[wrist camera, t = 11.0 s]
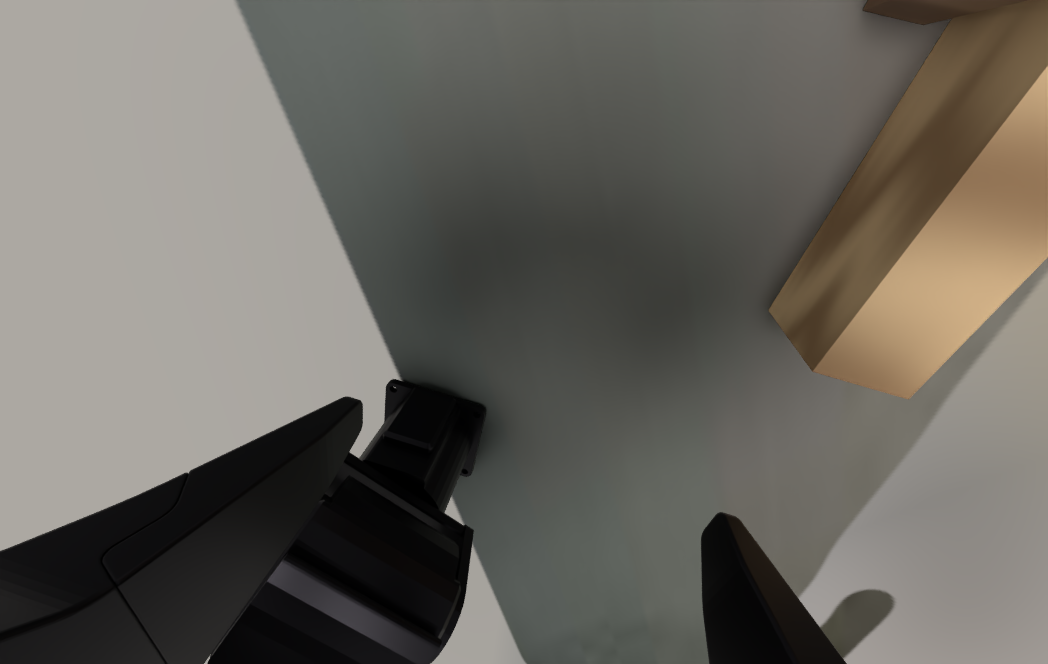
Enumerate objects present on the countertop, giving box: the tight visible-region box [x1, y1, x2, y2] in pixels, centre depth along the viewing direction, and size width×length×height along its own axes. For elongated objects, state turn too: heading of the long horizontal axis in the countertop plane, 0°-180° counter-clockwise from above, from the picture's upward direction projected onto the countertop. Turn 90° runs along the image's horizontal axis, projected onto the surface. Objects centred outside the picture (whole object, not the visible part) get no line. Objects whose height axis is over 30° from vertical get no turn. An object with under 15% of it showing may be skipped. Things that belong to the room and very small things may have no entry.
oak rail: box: [768, 0, 1048, 399], centre depth 13 cm, size 14×4×5 cm, turn 168°
